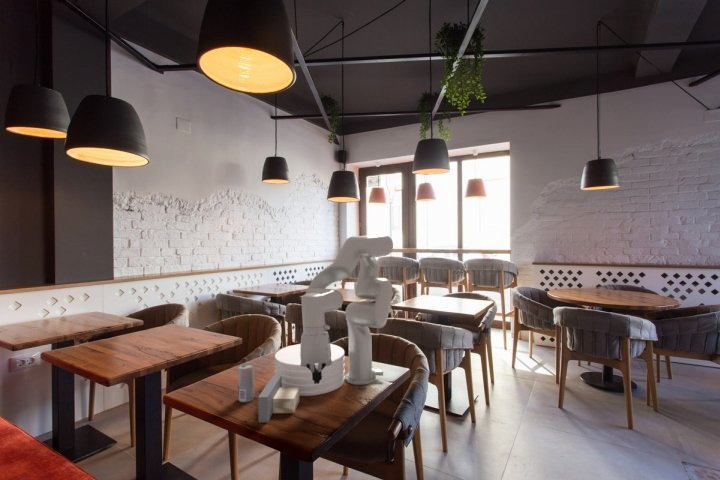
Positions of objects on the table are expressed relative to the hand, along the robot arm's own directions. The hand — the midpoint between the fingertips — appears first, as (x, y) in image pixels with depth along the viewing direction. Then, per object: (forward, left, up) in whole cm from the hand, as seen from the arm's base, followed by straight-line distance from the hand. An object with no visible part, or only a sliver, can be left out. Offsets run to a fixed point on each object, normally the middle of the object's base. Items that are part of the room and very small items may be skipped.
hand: (317, 381), depth 121 cm
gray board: (+16, +1, -9) cm, 18 cm away
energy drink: (+27, -6, -9) cm, 29 cm away
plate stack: (+6, -23, -9) cm, 25 cm away
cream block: (+11, 0, -9) cm, 14 cm away
